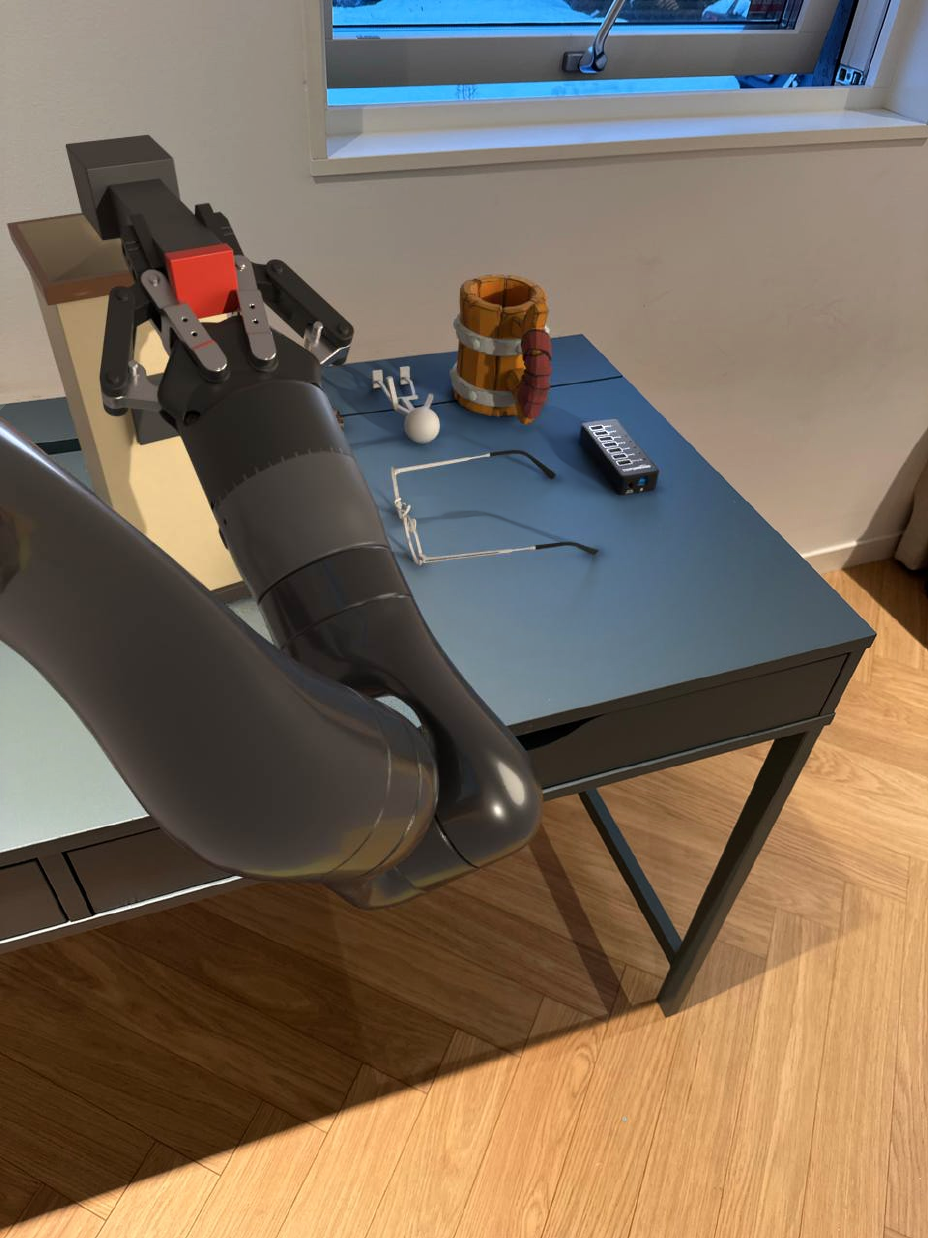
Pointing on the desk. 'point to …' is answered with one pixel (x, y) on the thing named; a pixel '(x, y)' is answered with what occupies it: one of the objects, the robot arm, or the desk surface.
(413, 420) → the figurine
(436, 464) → the eyeglasses
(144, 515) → the tall tapered bin
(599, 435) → the multiport hub
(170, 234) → the flashlight
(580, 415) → the desk surface
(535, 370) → the mug
